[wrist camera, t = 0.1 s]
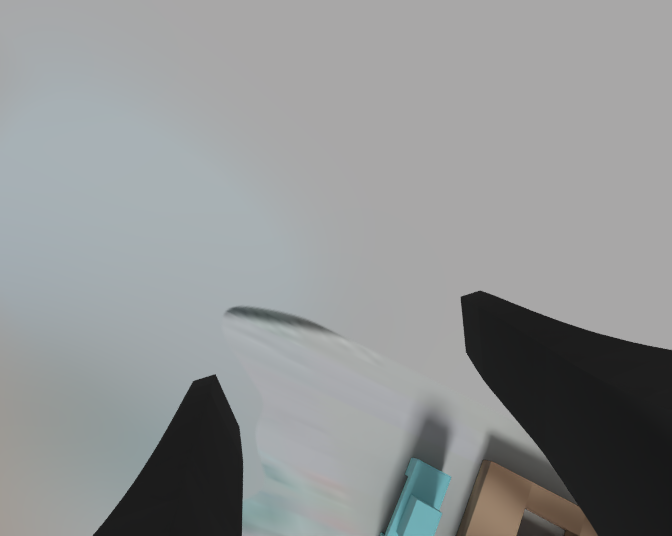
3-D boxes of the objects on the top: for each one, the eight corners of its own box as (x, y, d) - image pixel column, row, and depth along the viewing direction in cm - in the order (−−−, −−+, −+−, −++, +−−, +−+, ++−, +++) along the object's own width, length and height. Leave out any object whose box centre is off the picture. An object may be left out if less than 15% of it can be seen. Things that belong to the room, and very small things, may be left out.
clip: (411, 457, 40) (424, 461, 33) (441, 473, 40) (461, 480, 33) (373, 551, 38) (379, 576, 31) (405, 569, 37) (418, 600, 30)
